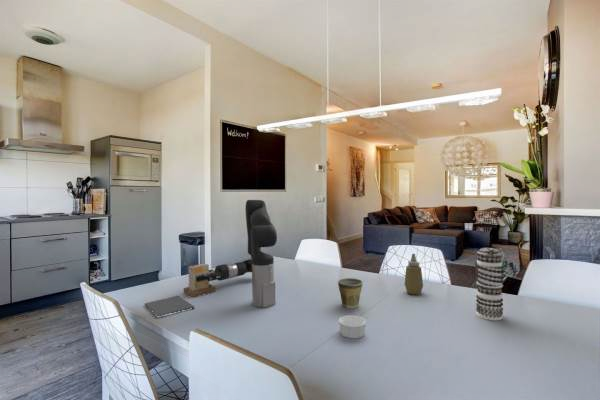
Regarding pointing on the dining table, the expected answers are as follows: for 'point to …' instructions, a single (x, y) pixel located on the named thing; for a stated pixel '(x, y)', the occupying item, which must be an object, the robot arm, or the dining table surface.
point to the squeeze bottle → (413, 277)
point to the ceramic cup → (350, 292)
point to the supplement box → (195, 272)
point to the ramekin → (352, 326)
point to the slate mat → (168, 305)
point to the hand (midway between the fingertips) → (193, 278)
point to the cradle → (199, 291)
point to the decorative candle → (489, 284)
